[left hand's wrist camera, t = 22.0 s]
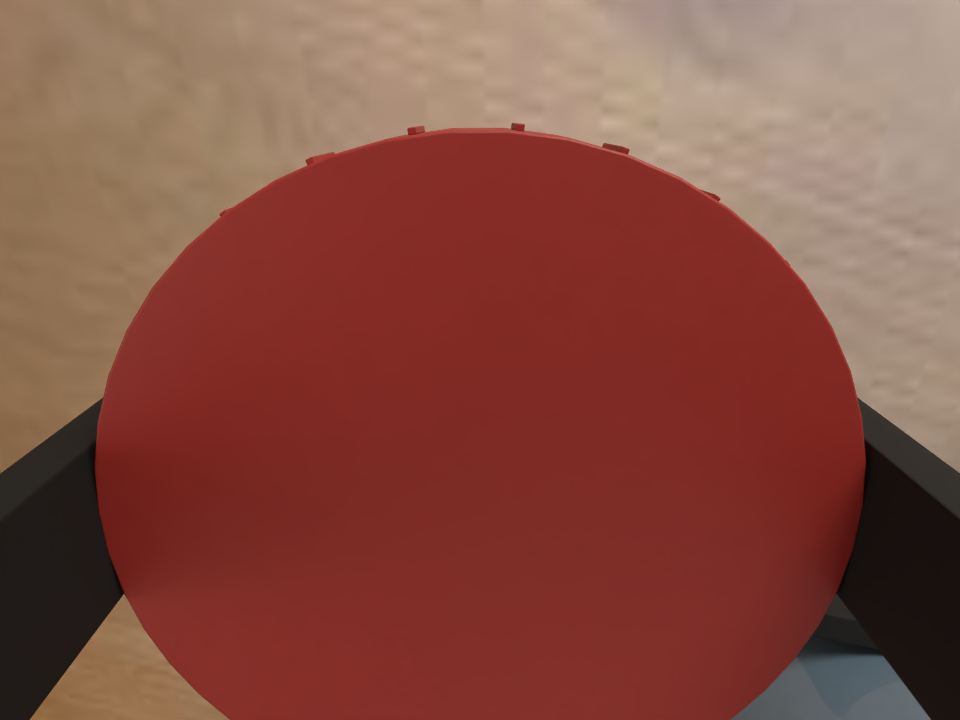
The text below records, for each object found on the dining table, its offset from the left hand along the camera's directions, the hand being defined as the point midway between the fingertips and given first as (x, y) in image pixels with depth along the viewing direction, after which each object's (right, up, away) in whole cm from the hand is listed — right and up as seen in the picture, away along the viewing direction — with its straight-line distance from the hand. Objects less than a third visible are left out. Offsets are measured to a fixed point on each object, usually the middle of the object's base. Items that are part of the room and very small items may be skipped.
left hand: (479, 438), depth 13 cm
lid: (0, -1, -3) cm, 3 cm away
